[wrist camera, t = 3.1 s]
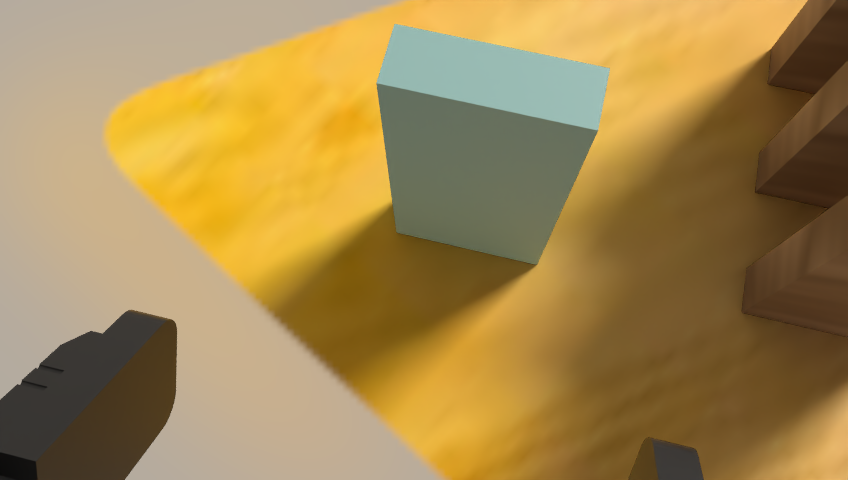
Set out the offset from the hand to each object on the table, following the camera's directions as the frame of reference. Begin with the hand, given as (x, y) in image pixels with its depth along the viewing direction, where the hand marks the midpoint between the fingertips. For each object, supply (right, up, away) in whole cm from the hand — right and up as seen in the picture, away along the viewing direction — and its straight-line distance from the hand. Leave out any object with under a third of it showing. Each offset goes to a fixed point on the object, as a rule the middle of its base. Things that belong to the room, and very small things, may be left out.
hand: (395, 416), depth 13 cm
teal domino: (+2, +3, +14) cm, 14 cm away
